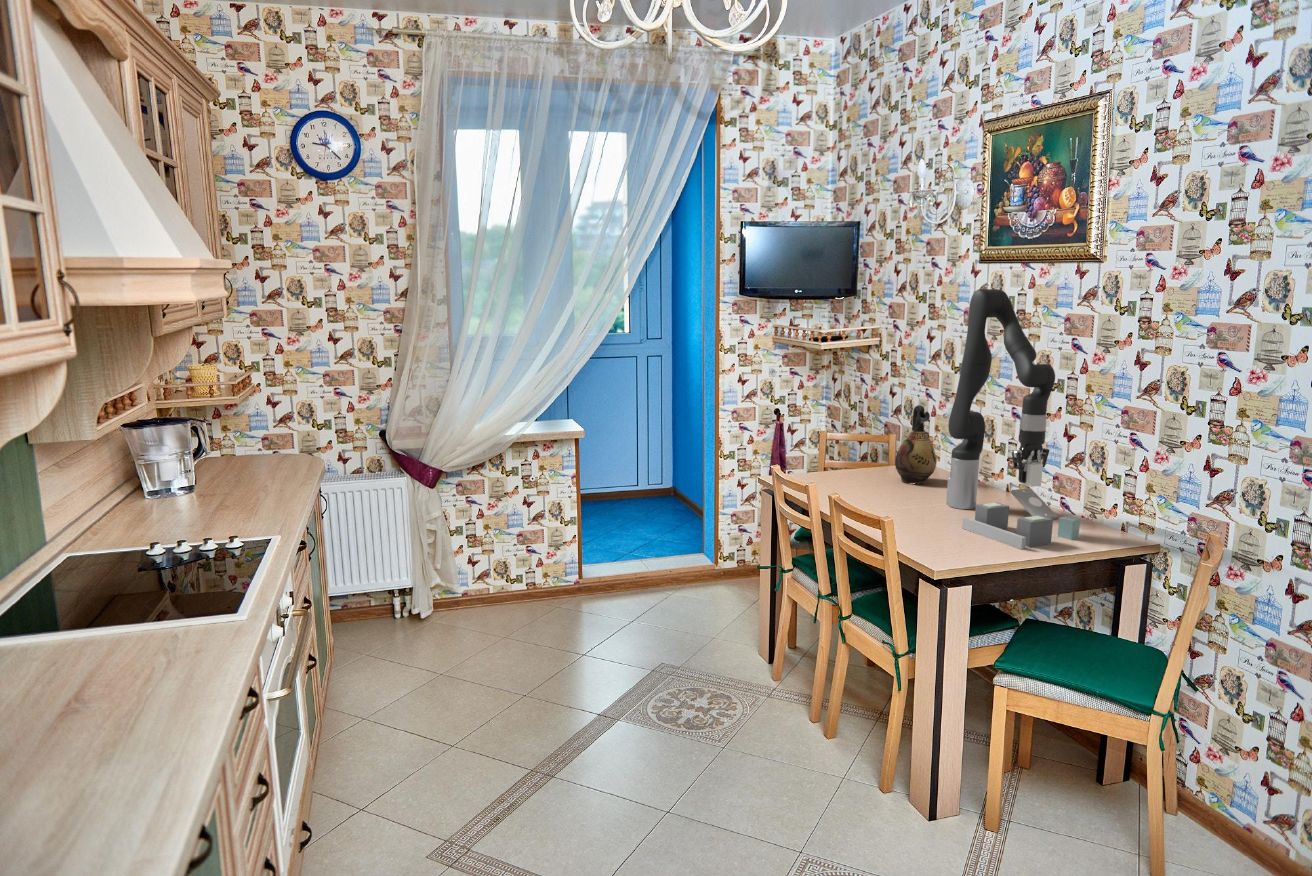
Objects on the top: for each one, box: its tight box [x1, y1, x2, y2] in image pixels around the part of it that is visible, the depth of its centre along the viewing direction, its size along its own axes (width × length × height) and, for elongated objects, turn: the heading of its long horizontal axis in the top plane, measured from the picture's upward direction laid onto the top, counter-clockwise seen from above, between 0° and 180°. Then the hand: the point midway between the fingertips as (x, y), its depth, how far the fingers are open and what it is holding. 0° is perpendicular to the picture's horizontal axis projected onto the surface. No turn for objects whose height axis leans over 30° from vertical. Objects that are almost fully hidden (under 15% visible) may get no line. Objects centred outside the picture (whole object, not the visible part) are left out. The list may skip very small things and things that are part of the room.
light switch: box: [1010, 487, 1059, 520], centre depth 296 cm, size 8×6×14 cm
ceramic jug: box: [894, 404, 937, 485], centre depth 343 cm, size 17×15×30 cm
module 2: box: [1057, 515, 1081, 541], centre depth 270 cm, size 4×4×6 cm
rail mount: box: [961, 502, 1054, 550], centre depth 271 cm, size 24×13×8 cm, turn 24°
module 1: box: [1015, 460, 1044, 488], centre depth 277 cm, size 6×4×7 cm
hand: (1028, 481), depth 278 cm, fingers closed on module 1, 4 cm apart
